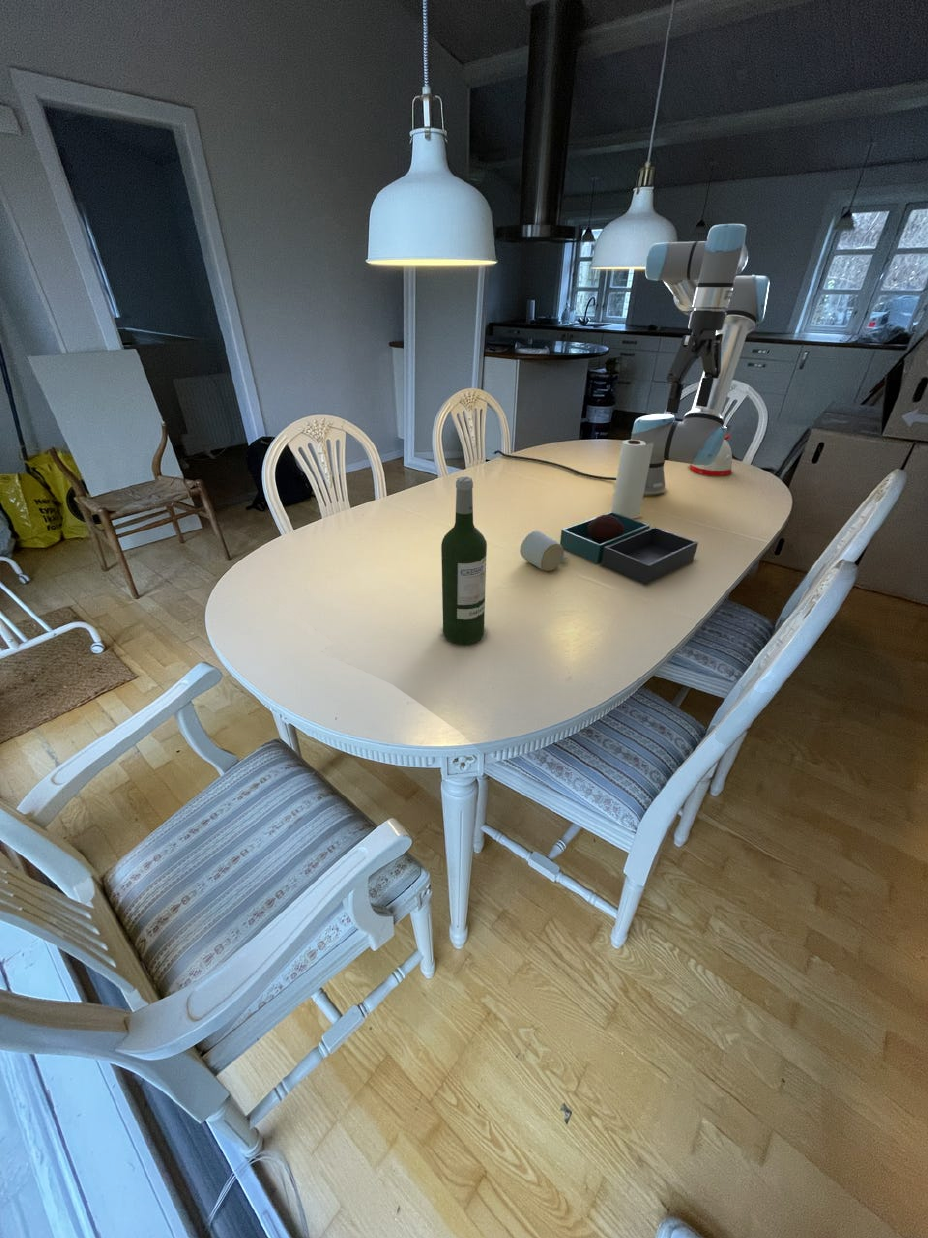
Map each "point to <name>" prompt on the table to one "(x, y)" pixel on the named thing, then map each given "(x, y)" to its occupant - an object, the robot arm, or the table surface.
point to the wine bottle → (463, 572)
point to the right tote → (649, 555)
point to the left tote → (586, 547)
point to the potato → (605, 528)
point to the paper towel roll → (631, 478)
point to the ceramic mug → (542, 551)
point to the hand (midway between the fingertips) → (686, 409)
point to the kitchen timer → (717, 462)
